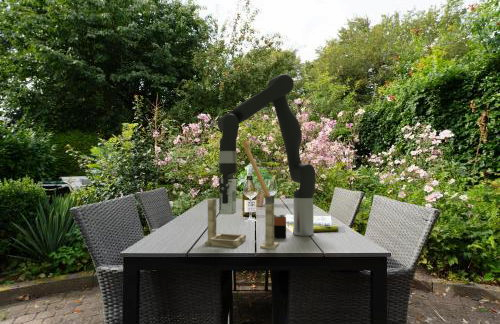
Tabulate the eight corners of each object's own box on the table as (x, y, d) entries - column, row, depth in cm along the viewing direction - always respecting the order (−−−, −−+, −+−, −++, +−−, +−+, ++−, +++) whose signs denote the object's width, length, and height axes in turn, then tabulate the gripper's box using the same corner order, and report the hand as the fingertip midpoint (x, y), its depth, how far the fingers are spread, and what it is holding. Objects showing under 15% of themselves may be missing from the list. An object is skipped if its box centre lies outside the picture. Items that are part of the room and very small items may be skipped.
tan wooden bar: (244, 142, 132) (247, 140, 131) (270, 200, 128) (274, 199, 128) (241, 141, 128) (245, 139, 128) (268, 201, 124) (272, 199, 124)
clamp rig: (214, 238, 139) (214, 193, 140) (280, 243, 131) (280, 194, 131) (202, 245, 128) (202, 195, 128) (274, 250, 119) (273, 197, 120)
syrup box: (223, 212, 135) (223, 178, 135) (236, 212, 133) (236, 178, 134) (218, 214, 129) (218, 179, 129) (232, 214, 128) (232, 179, 128)
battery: (285, 238, 140) (285, 216, 140) (270, 238, 140) (270, 215, 141) (286, 236, 144) (286, 214, 144) (271, 236, 145) (271, 214, 145)
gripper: (230, 162, 124) (230, 205, 123) (241, 162, 138) (241, 201, 137) (212, 162, 126) (212, 204, 126) (225, 162, 140) (225, 200, 139)
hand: (227, 202), depth 131 cm, fingers closed on syrup box, 6 cm apart
